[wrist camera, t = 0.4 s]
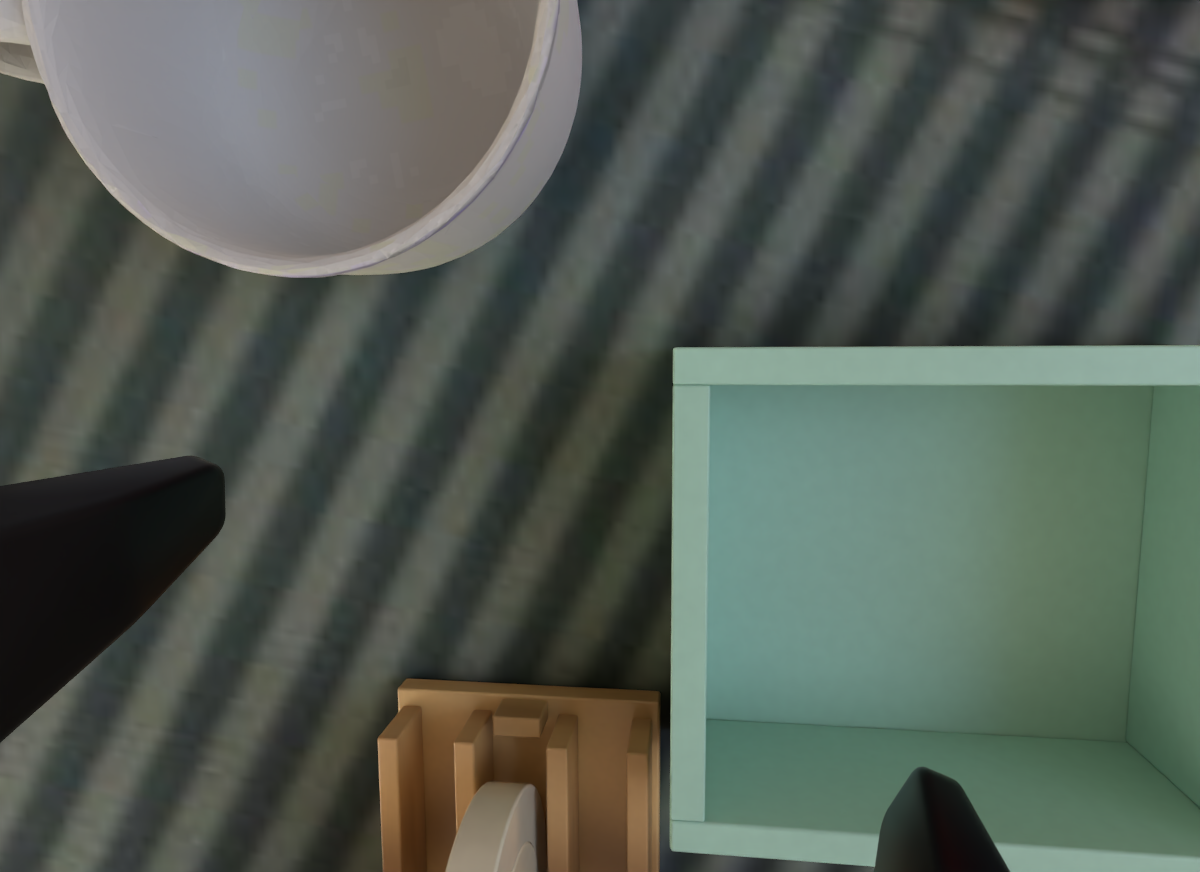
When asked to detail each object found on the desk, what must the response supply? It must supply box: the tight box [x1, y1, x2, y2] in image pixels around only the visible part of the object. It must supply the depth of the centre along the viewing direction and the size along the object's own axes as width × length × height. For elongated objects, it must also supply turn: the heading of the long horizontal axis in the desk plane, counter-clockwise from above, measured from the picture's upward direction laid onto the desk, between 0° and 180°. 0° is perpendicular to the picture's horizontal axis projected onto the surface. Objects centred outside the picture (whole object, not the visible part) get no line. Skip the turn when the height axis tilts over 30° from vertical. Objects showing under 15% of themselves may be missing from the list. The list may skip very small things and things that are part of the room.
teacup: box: [0, 0, 582, 278], centre depth 18 cm, size 14×11×8 cm
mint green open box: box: [670, 345, 1200, 872], centre depth 19 cm, size 12×13×6 cm
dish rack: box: [378, 679, 661, 872], centre depth 23 cm, size 10×8×3 cm
